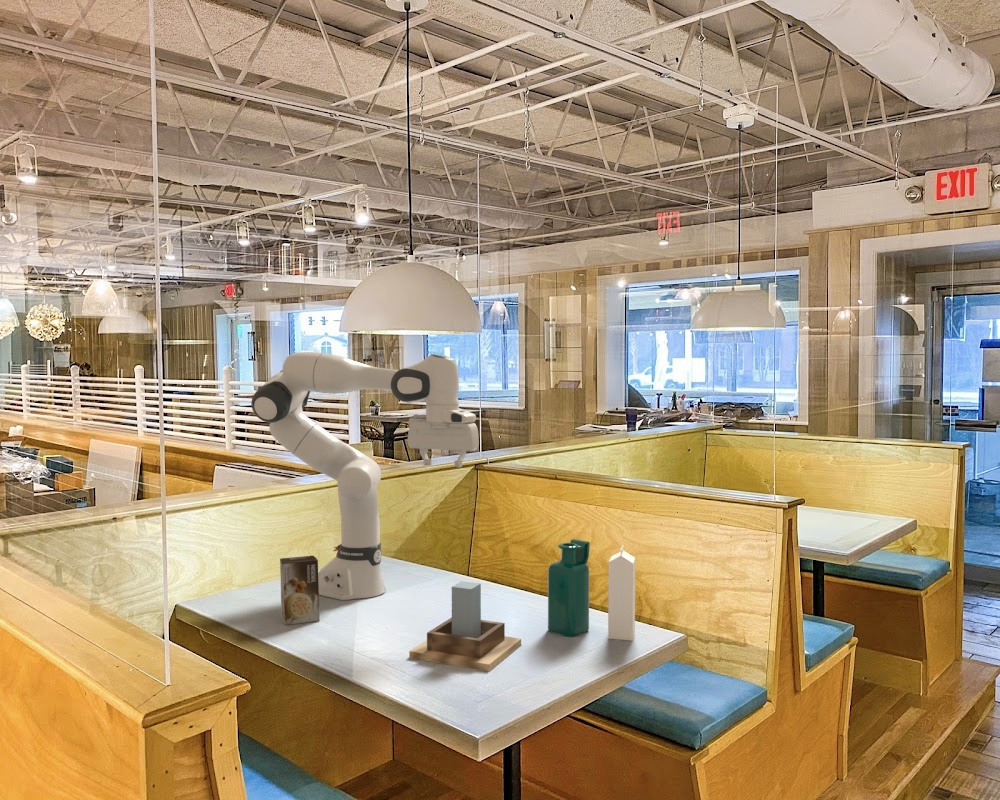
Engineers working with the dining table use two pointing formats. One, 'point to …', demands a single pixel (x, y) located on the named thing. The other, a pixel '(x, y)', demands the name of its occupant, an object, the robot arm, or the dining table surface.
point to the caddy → (467, 646)
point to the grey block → (466, 609)
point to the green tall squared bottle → (569, 590)
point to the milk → (621, 596)
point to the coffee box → (299, 590)
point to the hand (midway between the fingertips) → (442, 466)
